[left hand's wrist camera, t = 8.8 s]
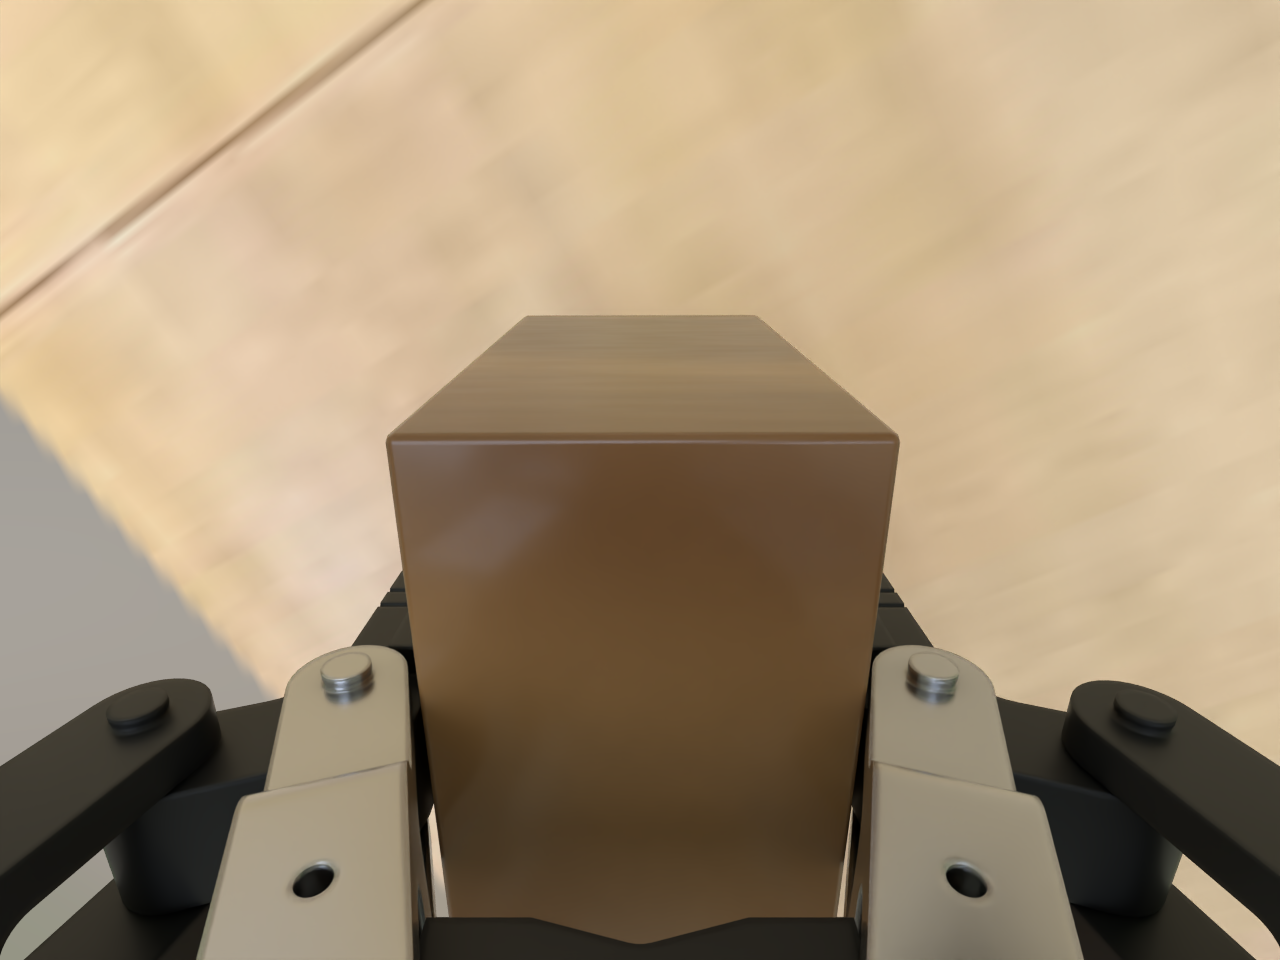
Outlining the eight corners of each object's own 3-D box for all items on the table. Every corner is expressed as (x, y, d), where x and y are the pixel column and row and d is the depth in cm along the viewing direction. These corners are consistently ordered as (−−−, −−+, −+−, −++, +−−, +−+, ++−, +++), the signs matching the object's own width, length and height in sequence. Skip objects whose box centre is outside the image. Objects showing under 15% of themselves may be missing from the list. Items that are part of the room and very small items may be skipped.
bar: (523, 315, 14) (381, 434, 6) (758, 314, 14) (905, 433, 6) (567, 1056, 22) (527, 1514, 14) (716, 1056, 22) (758, 1514, 14)
